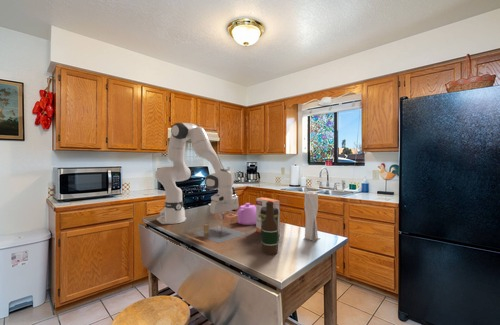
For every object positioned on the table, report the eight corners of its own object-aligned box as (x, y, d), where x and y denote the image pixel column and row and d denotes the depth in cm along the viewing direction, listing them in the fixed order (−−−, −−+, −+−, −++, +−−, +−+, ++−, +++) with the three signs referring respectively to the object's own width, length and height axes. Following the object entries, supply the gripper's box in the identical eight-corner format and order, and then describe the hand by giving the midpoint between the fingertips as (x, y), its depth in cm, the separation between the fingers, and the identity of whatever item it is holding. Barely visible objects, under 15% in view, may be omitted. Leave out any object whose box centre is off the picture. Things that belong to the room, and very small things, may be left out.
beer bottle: (260, 249, 118) (260, 200, 118) (276, 248, 119) (276, 200, 119) (263, 255, 111) (262, 203, 110) (279, 254, 111) (279, 203, 111)
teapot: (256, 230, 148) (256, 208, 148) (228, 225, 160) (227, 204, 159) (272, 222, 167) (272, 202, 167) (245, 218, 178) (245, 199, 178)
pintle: (217, 235, 139) (217, 225, 139) (220, 234, 140) (220, 224, 140) (219, 236, 137) (219, 226, 137) (222, 235, 139) (222, 225, 139)
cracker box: (255, 233, 143) (255, 198, 143) (262, 230, 148) (262, 196, 147) (273, 238, 133) (272, 201, 133) (280, 236, 137) (280, 199, 137)
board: (192, 234, 141) (192, 233, 140) (220, 227, 156) (220, 225, 156) (218, 245, 124) (218, 243, 124) (247, 235, 139) (247, 233, 139)
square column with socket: (237, 222, 143) (237, 215, 143) (230, 224, 139) (230, 217, 139) (220, 216, 154) (220, 210, 154) (212, 218, 150) (213, 212, 150)
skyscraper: (300, 239, 133) (300, 188, 132) (307, 235, 139) (307, 187, 138) (315, 242, 127) (315, 190, 127) (321, 238, 134) (321, 188, 133)
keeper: (209, 238, 134) (208, 227, 134) (203, 239, 133) (203, 227, 133) (207, 235, 139) (207, 224, 139) (202, 236, 138) (202, 224, 138)
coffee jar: (281, 241, 128) (281, 207, 128) (271, 245, 123) (271, 209, 122) (267, 237, 135) (267, 204, 135) (258, 241, 130) (257, 206, 129)
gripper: (234, 193, 156) (233, 214, 156) (208, 197, 141) (208, 220, 141) (241, 194, 151) (240, 216, 152) (215, 198, 136) (215, 222, 137)
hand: (225, 218), depth 146 cm, fingers closed on square column with socket, 3 cm apart
